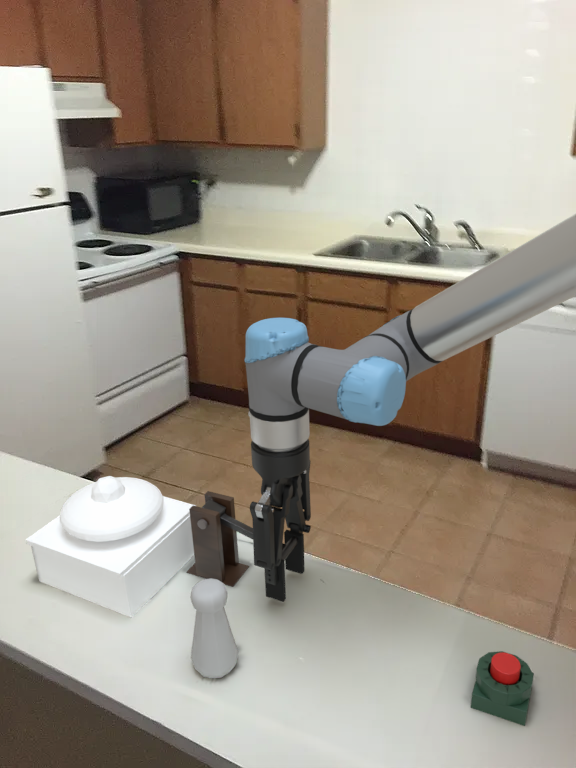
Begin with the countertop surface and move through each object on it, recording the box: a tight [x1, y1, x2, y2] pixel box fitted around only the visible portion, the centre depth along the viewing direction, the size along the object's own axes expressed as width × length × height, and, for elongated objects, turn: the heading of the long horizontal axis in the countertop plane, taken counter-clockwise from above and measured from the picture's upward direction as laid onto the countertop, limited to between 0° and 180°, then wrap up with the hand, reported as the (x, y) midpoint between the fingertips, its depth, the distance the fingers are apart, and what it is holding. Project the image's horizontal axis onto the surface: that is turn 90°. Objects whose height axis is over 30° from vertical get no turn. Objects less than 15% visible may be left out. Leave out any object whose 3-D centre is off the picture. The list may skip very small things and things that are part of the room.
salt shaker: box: [190, 578, 239, 679], centre depth 81 cm, size 6×6×13 cm
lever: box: [201, 500, 299, 562], centre depth 94 cm, size 14×6×2 cm, turn 65°
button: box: [490, 651, 521, 685], centre depth 77 cm, size 3×3×2 cm
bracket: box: [186, 490, 250, 588], centre depth 97 cm, size 8×6×13 cm
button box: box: [470, 650, 535, 727], centre depth 78 cm, size 6×6×4 cm
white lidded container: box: [24, 475, 197, 619], centre depth 99 cm, size 18×18×16 cm
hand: (285, 583), depth 95 cm, fingers closed on lever, 5 cm apart
